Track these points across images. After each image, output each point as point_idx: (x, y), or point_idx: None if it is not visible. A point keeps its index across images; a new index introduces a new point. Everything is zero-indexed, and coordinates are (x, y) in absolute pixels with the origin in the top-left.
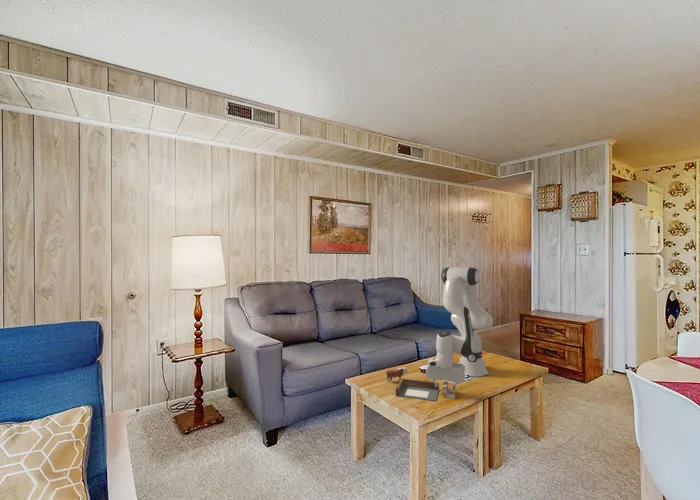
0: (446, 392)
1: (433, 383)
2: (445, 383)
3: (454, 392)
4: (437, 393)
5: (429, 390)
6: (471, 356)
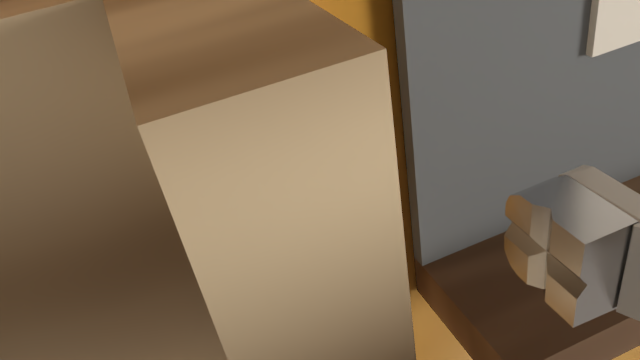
0: (113, 21)
1: (612, 310)
2: None
3: (2, 349)
4: (413, 88)
5: (584, 130)
6: None
